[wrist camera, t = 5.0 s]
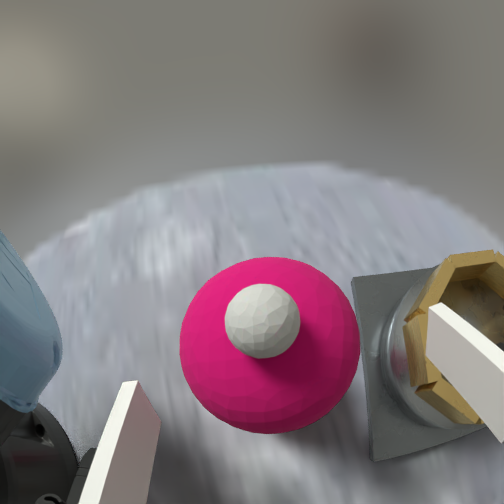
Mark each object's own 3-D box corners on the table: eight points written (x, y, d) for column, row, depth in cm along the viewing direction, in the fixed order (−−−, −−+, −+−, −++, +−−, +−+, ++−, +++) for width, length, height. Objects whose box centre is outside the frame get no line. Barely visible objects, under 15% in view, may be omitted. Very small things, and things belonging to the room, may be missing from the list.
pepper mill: (236, 339, 26) (131, 190, 9) (321, 335, 25) (387, 172, 8) (236, 422, 23) (98, 459, 5) (325, 419, 22) (436, 456, 4)
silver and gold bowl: (370, 459, 20) (403, 479, 13) (350, 282, 27) (371, 236, 20) (514, 410, 19) (568, 402, 11) (486, 264, 26) (527, 223, 19)
